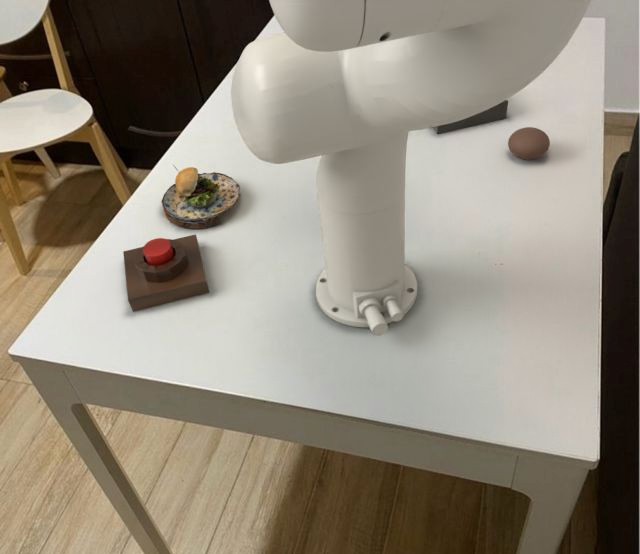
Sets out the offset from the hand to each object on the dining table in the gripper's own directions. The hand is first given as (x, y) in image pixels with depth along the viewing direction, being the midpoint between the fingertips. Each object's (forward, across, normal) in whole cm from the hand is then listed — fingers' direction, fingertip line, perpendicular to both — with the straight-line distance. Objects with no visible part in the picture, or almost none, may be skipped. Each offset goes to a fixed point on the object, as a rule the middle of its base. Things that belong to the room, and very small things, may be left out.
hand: (306, 29), depth 77 cm
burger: (+25, +7, +17) cm, 31 cm away
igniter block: (+25, -8, +24) cm, 36 cm away
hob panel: (+25, +16, -28) cm, 41 cm away
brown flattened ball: (+25, 0, -32) cm, 41 cm away
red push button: (+21, -8, +24) cm, 33 cm away
